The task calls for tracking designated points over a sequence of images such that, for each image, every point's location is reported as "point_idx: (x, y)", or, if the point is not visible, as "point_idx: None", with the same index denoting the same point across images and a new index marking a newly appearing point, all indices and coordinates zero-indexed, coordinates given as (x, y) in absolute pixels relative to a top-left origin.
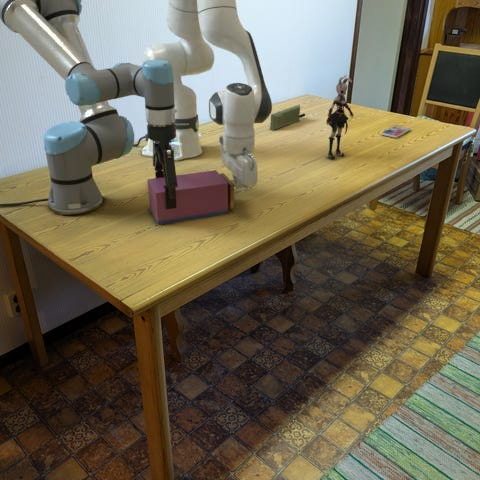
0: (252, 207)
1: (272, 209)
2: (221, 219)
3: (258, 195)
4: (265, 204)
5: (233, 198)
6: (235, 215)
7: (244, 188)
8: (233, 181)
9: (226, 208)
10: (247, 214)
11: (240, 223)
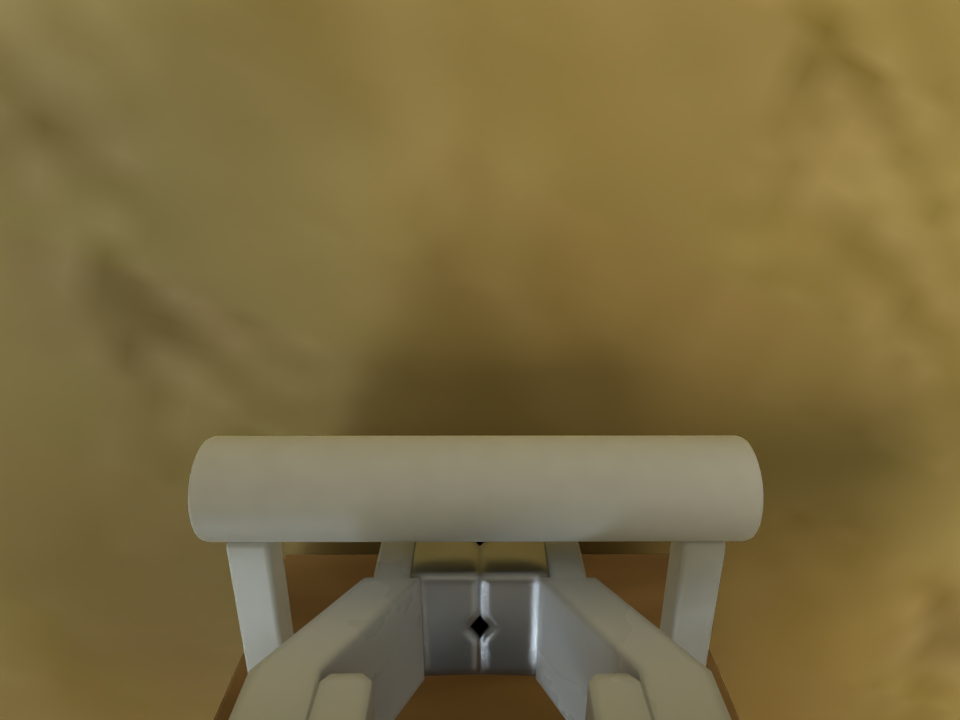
0: (658, 296)
1: (855, 44)
2: (765, 680)
3: (305, 40)
4: (653, 75)
5: (712, 666)
6: (756, 545)
7: (714, 578)
8: (286, 627)
9: None
10: (803, 424)
11: (949, 560)
